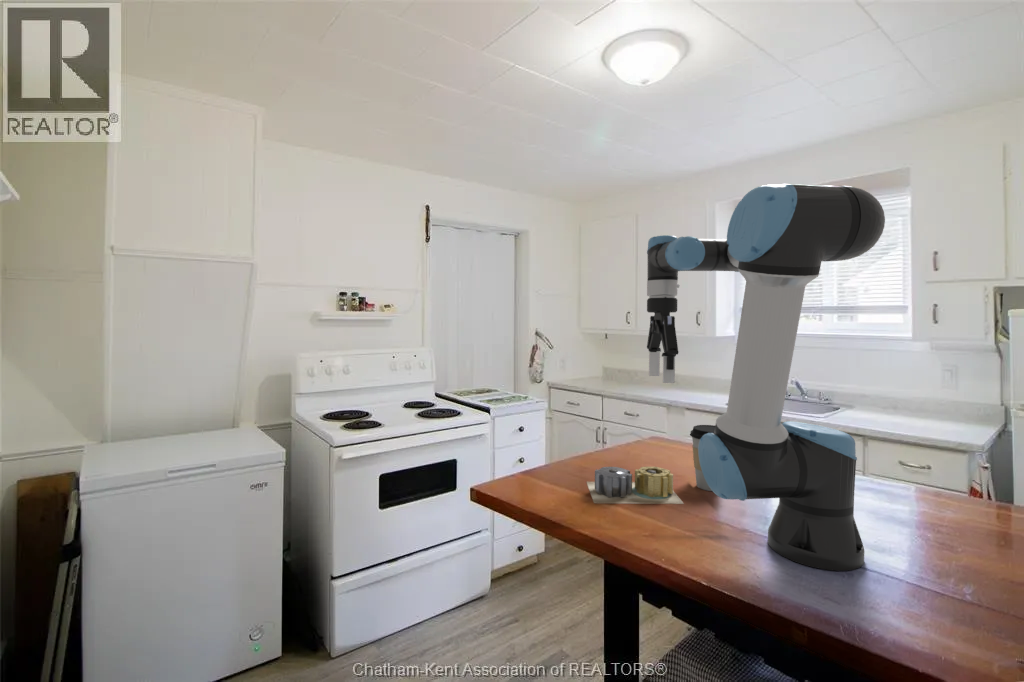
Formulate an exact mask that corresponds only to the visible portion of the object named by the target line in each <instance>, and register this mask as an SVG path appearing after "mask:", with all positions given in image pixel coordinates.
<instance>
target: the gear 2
mask: <svg viewBox="0 0 1024 682" xmlns="http://www.w3.org/2000/svg"><path fill="white" fill-rule="evenodd" d="M648 470H654V471H656V474H652V473H648V472H647V471H648ZM634 482H635V489H637V492H638V493H639V494H643V495H647V496H649V497H667V496H668V494H672V493H673V491H674V473H671V470H669V469H667V468H663V467H658V466H641V467H640V468H638V469H637V468H636V469H635V470H634Z"/></svg>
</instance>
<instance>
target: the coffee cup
mask: <svg viewBox="0 0 1024 682" xmlns="http://www.w3.org/2000/svg"><path fill="white" fill-rule="evenodd" d="M714 431H715V425H711V424H697V425H694V426H693V427H692V430H690V434H689V435H690V437H692V455H693V456H692V457H693V458H692V459H693V466H694V473H695V482H696V483H695V484H696V487H697V488H699V489H701V490H703V491H706V492H707V491H708V492H713V491H712V490H711V489H710V487H709V486H708V484H707V482H706V480H705V478H704V475H703V472H702V470H701V466H700V462H699V454H698V447H699V441H700V439H701V437H702V436H703V435H705V434H707V433H714Z"/></svg>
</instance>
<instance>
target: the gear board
mask: <svg viewBox="0 0 1024 682" xmlns="http://www.w3.org/2000/svg"><path fill="white" fill-rule="evenodd" d="M609 472H613V473H615V472H618V470H616V469H610V470H609ZM647 472H648V473H652V474H656V471H654V470H648V471H647ZM586 485H587V488H588V490H589V493H590V496H591V498H592V502H593V504H624V505H625V504H628V505H629V504H634V505H635V504H636V505H637V504H641V505H642V504H643V505H645V504H647V505H648V504H650V505H653V504H654V505H660V504H661V505H684V504H685V503H684V501H682V499H681V498H680V497H679V496H678V494H677V493H676V492H675V491H674V490H673V493H672V494H668V496H667V497H649V496H647V495H643V494H639V493H638V492H637V489H635V481H632V493H631V494H627V495H626V497H607V496H605V495H602V494H598V493H597V492H596V489H595V481H586Z"/></svg>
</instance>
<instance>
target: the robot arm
mask: <svg viewBox="0 0 1024 682" xmlns="http://www.w3.org/2000/svg"><path fill="white" fill-rule="evenodd" d="M885 216H886V215H885V211H884V208H883V206H882V204H881V202H880V201H879V200H878V199H877V198H876V197H875V196H874V195H873V194H871V193H870V192H869V191H867V190H865V189H862V188H859V187H855V186H850V185H815V184H814V185H812V184H794V183H792V184H791V183H782V184H767V185H766V184H764V185H760V186H756V187H755V188H753V189H751V190H749V191H748V192H747V193H746V194H745V195H744V196H743V197H742V199H740V201H739V202H738V203H737V205H736V206H735V208H734V209H733V212H732V214H731V217H730V220H729V222H728V227H727V232H726V239H725V238H722V239H720V238H719V239H717V238H698V237H695V236H693V235H690V236H689V235H686V236H680V237H677V236H675V235H670V234H669V235H657V236H652V237H650V238H649V239H648V242H647V249H646V254H647V278H646V279H647V280H646V296H647V297H648V298H647V299H646V312H647V313H654V315H650V317H649V319H650V320H649V321H650V323H649V329H648V337H647V344H646V349H647V350H648V354H649V355H648V376H649V377H660V371H661V370H660V368H661V366H660V361H661V359H660V358H661V357H662V383H663V384H675V382H676V381H675V380H676V379H675V377H676V376H675V375H676V373H675V371H676V356H677V355H679V346H678V340H677V339H678V338H677V331H676V324H675V323H676V317H675V316H674V315H670V314H671V313H677V312H678V298H677V297H676V296H678V289H679V288H680V284H679V283H678V281H679V280H678V279H679V276H678V274H679V272H736V273H739V274H740V275H741V276H742V277H743V278H744V280H745V286H744V291H743V300H742V308H741V314H740V320H739V327H738V333H737V334H738V335H737V341H736V348H735V355H734V360H733V367H732V372H731V373H732V374H731V381H730V387H729V394H728V401H727V406H726V407H727V408H726V412H724V413H722V414H720V415H719V416H717V418H716V419H715V425H714V426H715V431H714V433H707V434H705V435H703V436H702V437H701V439H700V441H699V447H698V454H699V462H700V466H701V470H702V472H703V475H704V478H705V480H706V482H707V484H708V486H709V487H710V489H711V490H712V491H711V492H713V493H714V494H715V495H716V496H717V497H719V498H721V499H724V500H738V501H742V502H743V501H744V502H745V501H746V500H758V499H759V500H761V499H762V500H763V499H764V500H765V499H766V500H767V499H779V500H778V501H779V502H778V505H777V507H776V510H775V512H774V515H773V517H772V520H771V522H770V525H769V527H768V529H767V543H768V545H769V547H770V548H771V549H772V550H773V552H775V553H777V554H779V555H780V556H782V557H783V558H786V559H788V560H791V561H793V562H795V563H798V564H800V565H804V566H807V567H810V568H816V569H821V570H827V571H840V572H841V571H842V572H843V571H852V570H856V569H858V568H861V567H862V566H863V565H864V562H865V547H864V544H863V541H862V538H861V534H860V531H859V529H858V526H857V523H856V520H855V516H854V515H855V514H854V511H855V509H854V508H855V485H856V484H855V483H856V472H857V471H856V467H857V461H858V458H857V457H858V456H857V455H856V451H857V450H856V441H855V439H854V438H853V436H852V435H851V434H848V433H847V432H844V431H842V430H840V429H839V430H838V429H835V428H831V427H828V426H823V425H819V424H818V425H817V424H813V423H808V422H807V423H806V422H800V421H790V420H789V421H784V422H781V421H782V418H783V417H782V415H783V411H784V406H785V400H786V393H787V388H788V384H789V377H790V372H791V367H792V361H793V357H794V350H795V346H796V339H797V336H798V335H797V334H798V329H799V328H798V327H799V323H800V318H801V313H802V307H803V302H804V297H805V291H806V287H807V285H809V283H811V282H812V281H814V280H815V279H816V278H818V277H819V275H820V271H821V265H822V262H841V261H846V260H847V261H848V260H851V259H854V258H857V257H859V256H862V255H864V254H865V253H867V252H868V251H870V250H871V249H872V248H873V247H874V246H875V245H876V244H877V243H878V242H879V240H880V239H881V237H882V236H883V232H884V229H885V224H886V217H885ZM661 344H662V348H663V352H662V348H661V347H660V346H661ZM661 352H662V354H661ZM660 354H661V356H660Z"/></svg>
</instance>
